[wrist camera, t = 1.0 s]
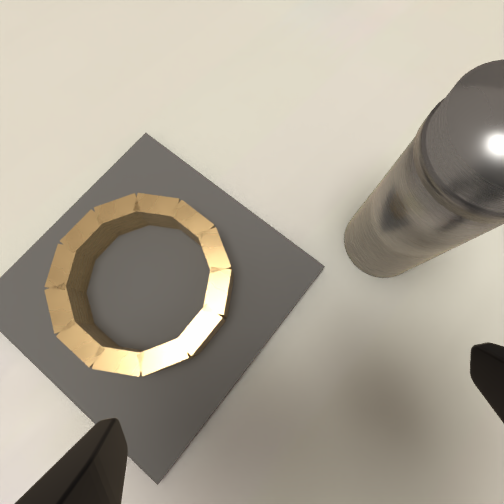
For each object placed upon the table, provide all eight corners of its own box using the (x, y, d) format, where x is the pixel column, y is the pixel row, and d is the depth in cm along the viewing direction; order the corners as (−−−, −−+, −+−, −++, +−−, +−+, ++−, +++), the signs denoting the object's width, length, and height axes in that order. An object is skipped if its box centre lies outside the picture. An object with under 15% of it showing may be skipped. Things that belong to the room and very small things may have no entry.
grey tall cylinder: (433, 235, 24) (637, 112, 11) (392, 295, 23) (565, 232, 10) (370, 192, 24) (492, 32, 12) (327, 247, 23) (412, 135, 11)
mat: (322, 268, 23) (324, 266, 22) (160, 480, 20) (157, 484, 19) (148, 137, 26) (145, 132, 25) (-20, 306, 23) (-27, 304, 22)
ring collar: (264, 273, 22) (265, 264, 20) (155, 408, 20) (141, 416, 18) (147, 181, 24) (135, 163, 22) (35, 298, 22) (9, 292, 20)
